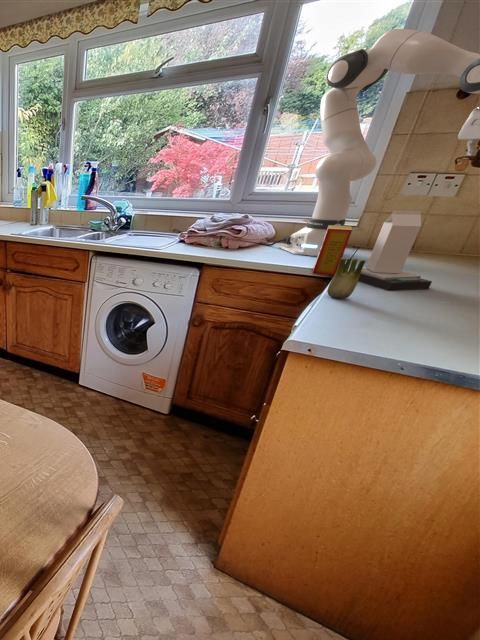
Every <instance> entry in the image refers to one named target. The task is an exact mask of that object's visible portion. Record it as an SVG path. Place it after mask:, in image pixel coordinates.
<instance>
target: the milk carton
mask: <svg viewBox="0 0 480 640" xmlns="http://www.w3.org/2000/svg"><path fill="white" fill-rule="evenodd" d="M422 213H423V211H422V210H393V211H392V213H391V214H390V215H389V216H388V217H387V219H385V220H384V221H383V224H382V225H381V226H382V227H381V229H380V232H379V234H378V236H377V239H376V241H375V244H374V246H373V248H372V250H371V254H370V256H369V259H368V260H367V264H366V265H365V268H368V269H369V270H371V271H372V272H380V273H401V271H403V268H404V266H405V263H406V262H407V259H408V257H409V254H410V253H411V251H412V247H413V246H414V243H415V241H416V239H417V237H418V235H419V231H420V230H421V227H422Z"/></svg>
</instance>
